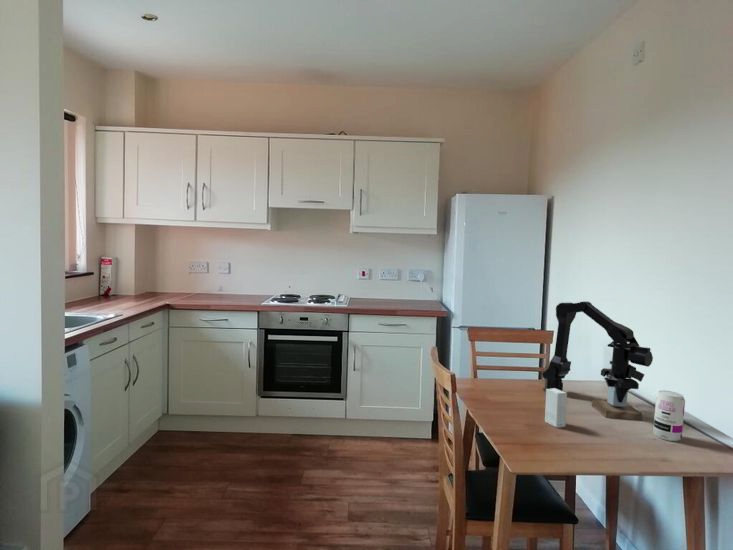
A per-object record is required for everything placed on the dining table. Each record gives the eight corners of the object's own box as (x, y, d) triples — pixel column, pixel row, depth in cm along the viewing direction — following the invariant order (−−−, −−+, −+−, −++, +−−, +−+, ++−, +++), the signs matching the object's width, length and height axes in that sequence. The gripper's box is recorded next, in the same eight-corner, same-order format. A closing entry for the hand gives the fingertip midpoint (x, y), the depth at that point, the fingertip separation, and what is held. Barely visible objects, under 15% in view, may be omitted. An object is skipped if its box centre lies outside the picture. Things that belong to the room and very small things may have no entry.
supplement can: (677, 434, 162) (681, 392, 161) (684, 443, 154) (688, 399, 153) (650, 430, 165) (654, 388, 164) (656, 439, 157) (660, 395, 156)
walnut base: (605, 417, 176) (606, 411, 176) (591, 405, 189) (592, 399, 189) (641, 420, 175) (642, 413, 175) (625, 408, 188) (625, 402, 188)
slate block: (612, 405, 179) (614, 390, 179) (607, 401, 184) (608, 386, 184) (626, 406, 179) (627, 391, 179) (620, 402, 184) (621, 387, 184)
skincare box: (566, 427, 164) (568, 392, 163) (555, 428, 162) (558, 393, 162) (553, 420, 170) (555, 387, 169) (543, 421, 168) (545, 388, 167)
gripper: (655, 368, 171) (651, 410, 172) (630, 356, 189) (626, 394, 190) (623, 365, 172) (619, 407, 173) (601, 354, 190) (598, 392, 191)
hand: (616, 400), depth 182 cm, fingers closed on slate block, 5 cm apart
